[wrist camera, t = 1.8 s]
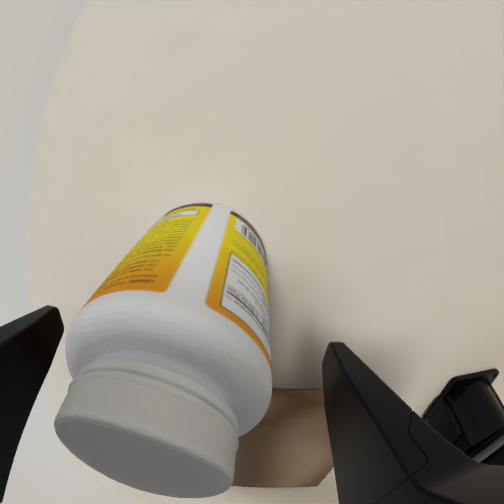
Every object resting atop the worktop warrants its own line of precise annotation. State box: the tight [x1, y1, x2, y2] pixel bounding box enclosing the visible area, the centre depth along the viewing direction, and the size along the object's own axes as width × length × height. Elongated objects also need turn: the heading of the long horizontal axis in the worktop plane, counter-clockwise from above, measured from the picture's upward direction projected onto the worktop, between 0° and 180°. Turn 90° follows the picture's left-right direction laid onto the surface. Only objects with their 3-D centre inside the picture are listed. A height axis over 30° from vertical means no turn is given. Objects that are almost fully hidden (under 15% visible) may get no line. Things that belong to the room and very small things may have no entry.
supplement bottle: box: [54, 202, 272, 498], centre depth 9 cm, size 6×6×10 cm
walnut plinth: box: [231, 388, 334, 488], centre depth 19 cm, size 12×12×3 cm
